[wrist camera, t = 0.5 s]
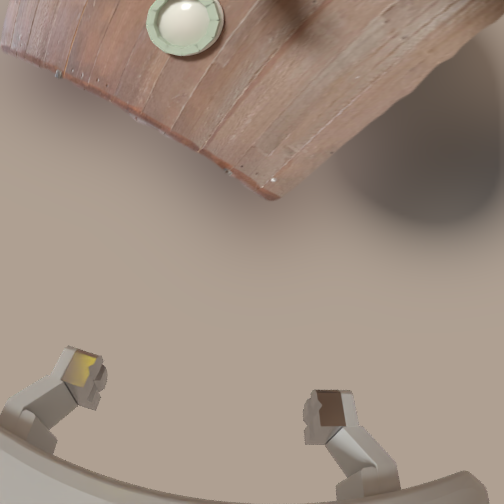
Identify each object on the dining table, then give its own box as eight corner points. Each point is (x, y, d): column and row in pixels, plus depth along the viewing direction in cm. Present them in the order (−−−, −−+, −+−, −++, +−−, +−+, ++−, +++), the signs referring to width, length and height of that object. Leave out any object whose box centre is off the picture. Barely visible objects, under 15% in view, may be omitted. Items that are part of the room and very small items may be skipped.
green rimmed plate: (140, 2, 35) (135, 3, 33) (212, -25, 30) (208, -25, 29) (162, 63, 45) (157, 66, 44) (232, 45, 40) (230, 46, 39)
